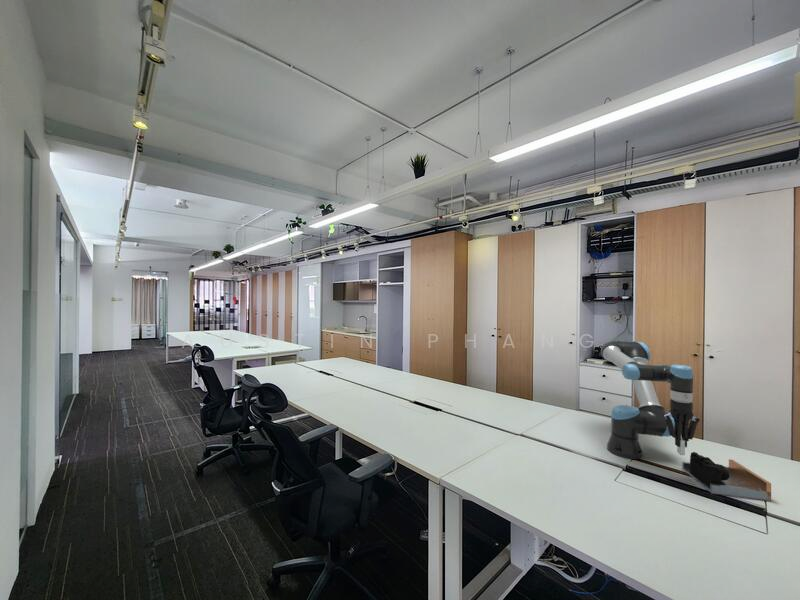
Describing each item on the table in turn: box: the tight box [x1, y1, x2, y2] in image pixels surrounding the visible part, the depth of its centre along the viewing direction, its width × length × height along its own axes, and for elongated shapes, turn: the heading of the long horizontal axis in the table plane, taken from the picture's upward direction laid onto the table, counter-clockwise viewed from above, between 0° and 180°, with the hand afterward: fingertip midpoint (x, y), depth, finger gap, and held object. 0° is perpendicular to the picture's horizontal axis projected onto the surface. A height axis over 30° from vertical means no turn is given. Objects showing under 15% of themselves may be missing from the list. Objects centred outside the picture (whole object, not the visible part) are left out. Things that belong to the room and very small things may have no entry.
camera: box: [689, 451, 729, 486], centre depth 138 cm, size 14×11×10 cm
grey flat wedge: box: [681, 458, 772, 502], centre depth 138 cm, size 20×19×7 cm
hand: (680, 453), depth 141 cm, fingers closed
